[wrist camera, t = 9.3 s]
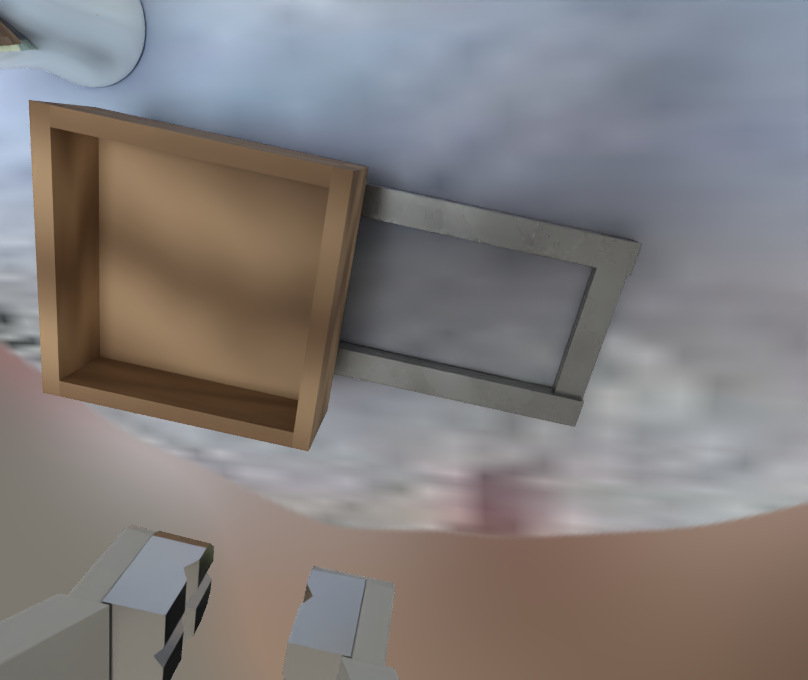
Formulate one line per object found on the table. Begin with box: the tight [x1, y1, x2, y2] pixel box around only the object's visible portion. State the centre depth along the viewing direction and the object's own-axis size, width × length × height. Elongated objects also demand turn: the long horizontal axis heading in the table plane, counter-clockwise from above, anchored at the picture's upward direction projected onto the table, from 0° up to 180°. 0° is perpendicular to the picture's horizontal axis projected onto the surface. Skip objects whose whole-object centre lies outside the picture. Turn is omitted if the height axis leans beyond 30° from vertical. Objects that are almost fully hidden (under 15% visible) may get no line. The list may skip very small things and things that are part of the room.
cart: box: [29, 100, 369, 451], centre depth 25 cm, size 13×13×6 cm
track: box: [334, 182, 642, 427], centre depth 28 cm, size 11×27×2 cm, turn 78°
